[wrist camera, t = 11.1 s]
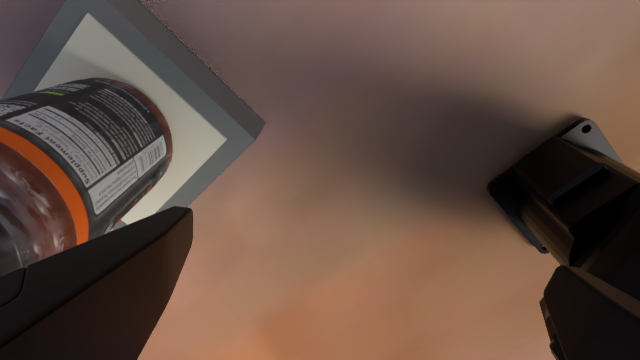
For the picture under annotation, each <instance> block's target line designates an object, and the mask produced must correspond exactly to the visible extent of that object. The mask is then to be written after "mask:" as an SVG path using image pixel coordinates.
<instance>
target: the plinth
mask: <svg viewBox="0 0 640 360" xmlns="http://www.w3.org/2000/svg"><path fill="white" fill-rule="evenodd" d="M88 78H108V79H113V80H117V81H119V82H123V83H126V84H128V85H130V86H132V87H134V88H136V89H137V90H139V91H140V92H142V93H143V94H144V95H145V96H147V97H148V98H149V99H150V100H151V101H152V102H153V103H154V104H155V105H156V106H157V108H158V109H159V111H160V112H161V113H162V115H163V116H164V117H165V120H166V121H167V124H168V126H169V129H170V132H171V137H172V145H173V153H172V160H171V162H170V164H169V167H168V169H167V171H166V172H165V174H164V175H163V176H162V178H161V179H160V180H159V181H158V183H157V184H156V185H155V186H154V187H153V188H152V189H151V190H150V191H149V192H148V193H147V194H146V195H145V196H144V197H143V198H142V199H141V200H140V201H139V202H138V203H137V204H136V205H135V206H134V207H133V208H132V209H131V210H130V211H129V212H128V213H127V214H126V215H125V216H124V217H123V218H122V219H121V220H120V221H119V222H118V223H117V224H116V225H115V226H114V227H113V229H114V230H116V229H118V228H121V227H123V226H126V225H128V224H131V223H133V222H136V221H138V220H140V219H143V218H145V217H148V216H150V215H153V214H155V213H158V212H160V211H163V210H165V209H168V208H170V207H173V206H180V207H188V206H189V205H190V204H191V203H192V202H193V201H194V200H195V199H196V198H197V197H198V196H199V195H200V194H201V193H202V192H203V191H204V190H205V189H206V188H207V187H208V186H209V185H210V184H211V183H212V182H213V181H214V180H215V179H216V178H217V177H218V176H219V175H220V174H221V173H222V172H223V171H224V170H225V169H226V168H227V167H228V166H229V165H230V164H231V163H232V162H233V161H234V160H235V159H236V158H238V157H239V156H240V155H241V154H242V153H243V152H244V151H245V150H246V149H247V148H248V147H249V146H250V145H251V144H252V143H253V142H254V141H255V140H256V138H257V137H258V135H259V133H260V132H261V130H262V128H263V127H264V125H265V122H264V121H263V120H262V119H261V118H260V117H259V116H258V115H257V114H256V113H255V112H254V111H253V110H252V109H251V108H250V107H249V106H248V105H247V104H245V103H244V102H243V101H242V100H241V99H240V98H239V97H238V96H237V95H236V94H235V93H234V92H233V91H232V90H231V89H230V88H229V87H228V86H227V85H226V84H225V83H224V82H223V81H222V80H221V79H219V78H218V77H217V76H216V75H215V74H214V73H213V72H212V71H211V70H210V69H209V68H208V67H207V66H206V65H205V64H204V63H203V62H202V61H201V60H200V59H199V58H198V57H197V56H196V55H195V54H194V53H192V52H191V51H190V50H189V49H188V48H187V47H186V46H185V45H184V44H183V43H182V42H181V41H180V40H179V39H178V38H177V37H176V36H175V35H174V34H173V33H172V32H171V31H170V30H169V29H168V28H166V27H165V26H164V25H163V24H162V23H161V22H160V21H159V20H158V19H157V18H156V17H155V16H154V15H153V14H152V13H151V12H150V11H149V10H148V9H147V8H146V7H145V6H144V5H143V4H142V3H140V2H139V1H138V0H65V2H64V3H63V5H62V6H61V8H60V9H59V11H58V13H57V14H56V16H55V17H54V19H53V20H52V22H51V23H50V25H49V26H48V28H47V30H46V31H45V33H44V34H43V36H42V37H41V39H40V40H39V42H38V44H37V45H36V47H35V48H34V50H33V51H32V53H31V54H30V56H29V57H28V59H27V61H26V62H25V64H24V65H23V67H22V68H21V70H20V71H19V73H18V75H17V76H16V78H15V79H14V81H13V82H12V84H11V85H10V87H9V88H8V90H7V92H6V93H5V95H4V96H3V98H2V99H1V101H2V100H5V99H9V98H13V97H16V96H19V95H23V94H27V93H31V92H35V91H38V90H42V89H45V88H49V87H53V86H57V85H59V84H64V83H67V82H71V81H75V80H80V79H88Z"/></svg>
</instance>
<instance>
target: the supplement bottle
mask: <svg viewBox="0 0 640 360" xmlns="http://www.w3.org/2000/svg"><path fill="white" fill-rule="evenodd" d="M172 153H173V145H172V137H171V132H170V129H169V126H168V124H167V121H166V120H165V117H164V116H163V115H162V113H161V112H160V111H159V109H158V108H157V106H156V105H155V104H154V103H153V102H152V101H151V100H150V99H149V98H148V97H147V96H145V95H144V94H143V93H142V92H140V91H139V90H137V89H136V88H134V87H132V86H130V85H128V84H126V83H123V82H119V81H117V80H113V79H108V78H88V79H80V80H75V81H71V82H67V83H64V84H59V85H57V86H53V87H49V88H45V89H42V90H38V91H35V92H31V93H27V94H23V95H19V96H16V97H13V98H9V99H5V100H2V101H0V276H2V275H5V274H7V273H10V272H12V271H15V270H17V269H19V268H22V267H24V268H26V267H27V266H28V265H30V264H32V263H34V262H37V261H39V260H42V259H44V258H47V257H49V256H52V255H54V254H57V253H59V252H62V251H64V250H67V249H69V248H71V247H74V246H76V245H79V244H81V243H84V242H86V241H89V240H91V239H94V238H96V237H99V236H101V235H104V234H106V233H108V232H109V231H110V230H111V229H112V228H113V227H114V226H115V225H116V224H117V223H118V222H119V221H120V220H121V219H122V218H123V217H124V216H125V215H126V214H127V213H128V212H129V211H130V210H131V209H132V208H133V207H134V206H135V205H136V204H137V203H138V202H139V201H140V200H141V199H142V198H143V197H144V196H145V195H146V194H147V193H148V192H149V191H150V190H151V189H152V188H153V187H154V186H155V185H156V184H157V183H158V181H159V180H160V179H161V178H162V176H163V175H164V174H165V172H166V171H167V169H168V167H169V164H170V162H171V160H172Z"/></svg>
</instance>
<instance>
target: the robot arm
mask: <svg viewBox="0 0 640 360" xmlns="http://www.w3.org/2000/svg"><path fill="white" fill-rule="evenodd" d="M584 125H587V127H586V129H585V130H583V131H582V127H583V126H584ZM496 187H500V189H499V190H497V191H494V189H495V188H496ZM487 191H488V193H489V194H490V195H491V196H492V197H493V198H494V200H495V201H496V202H497V203H498V204H499V205H500V207H501V208H502V209H503V210H504V211H505V212H506V214H507V215H508V216H509V217H510V218H511V219H512V221H513V222H514V223H515V224H516V225H517V226H518V227H519V229H520V230H521V231H522V232H523V233H524V234H525V236H526V237H527V238H528V239H529V240H530V241H531V243H532V244H533V245H534V246H535V247H536V248H537V249H538V251H539V252H541V253H544V254H545V253H549V252H550V253H551V255H552V256H553V257H554V258H555V259H556V260H557V261H558V262H559V264H560V265H561V266H559V267H557V268H556V270H555V271H554V273H553V275H552V277H551V279H550V281H549V282H548V284H547V286H546V288H545V290H544V297H543V298H542V299H541V301H540V302H539V303H540V307H541V310H542V313H543V317H544V320H545V324H546V327H547V331H548V334H549V338H550V341H551V343H550V349H551V352H552V354H553V355H554V357H555V358H556V360H640V173H638V172H637V171H635V170H633V169H631V168H629V167H627V166H626V165H624V164H623V163H622V161H621V160H620V158H619V157H618V156H617V154H616V153H615V151H614V150H613V148H612V147H611V145H610V144H609V142H608V141H607V139H606V138H605V136H604V135H603V133H602V132H601V131H600V129H599V128H598V126H597V125H596V123H595V122H594V121H592V120H590V119H587V118H582V119H579V120H577V121H576V122H575V123H573V124H572V125H570V126H569V127H568V128H566V129H565V130H563V131H562V132H561V133H559V134H558V135H556V136H555V137H551V138H550V139H549V140H547V141H546V142H544V143H543V144H542V145H540V146H539V147H537V148H536V149H535V150H533V151H532V152H530V153H529V154H528V155H526V156H525V157H523V158H522V159H521V160H519V161H518V162H516V163H515V165H514V166H513V167H511V168H510V169H508V170H507V171H506V172H504V173H503V174H501V175H500V176H499V177H497V178H496V179H494V180H493V181H491V182H490V183H489V184H488V186H487ZM192 240H193V211H192V209H191V208H187V207H180V206H173V207H170V208H168V209H165V210H163V211H160V212H158V213H155V214H153V215H150V216H148V217H145V218H143V219H140V220H138V221H136V222H133V223H131V224H128V225H126V226H123V227H121V228H118V229H116V230H113V231H111V232H108V233H106V234H104V235H101V236H99V237H96V238H94V239H91V240H89V241H86V242H84V243H81V244H79V245H76V246H74V247H71V248H69V249H67V250H64V251H62V252H59V253H57V254H54V255H52V256H49V257H47V258H44V259H42V260H39V261H37V262H34V263H32V264H30V265H28V266H27V267H26V268H24V267H22V268H19V269H17V270H15V271H12V272H10V273H7V274H5V275H2V276H0V360H137V359H138V357H139V355H140V353H141V351H142V350H143V348H144V346H145V344H146V342H147V340H148V339H149V337H150V335H151V333H152V331H153V330H154V328H155V326H156V324H157V322H158V320H159V319H160V317H161V315H162V313H163V311H164V310H165V308H166V306H167V304H168V302H169V300H170V297H171V295H172V293H173V290H174V288H175V285H176V283H177V280H178V278H179V275H180V273H181V270H182V268H183V265H184V263H185V260H186V258H187V255H188V253H189V250H190V248H191V245H192ZM543 245H544V247H543Z"/></svg>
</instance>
